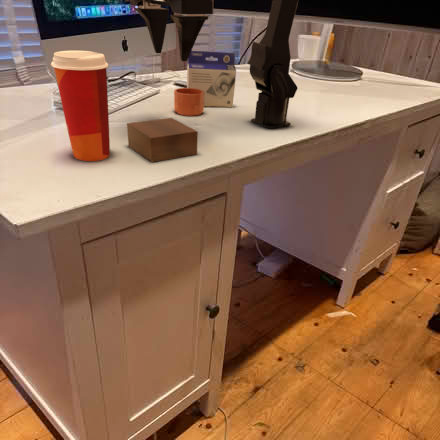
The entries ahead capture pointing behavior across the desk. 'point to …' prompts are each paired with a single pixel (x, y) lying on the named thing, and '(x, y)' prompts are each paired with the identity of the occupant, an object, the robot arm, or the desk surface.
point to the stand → (162, 139)
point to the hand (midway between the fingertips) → (170, 57)
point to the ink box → (213, 77)
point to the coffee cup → (84, 102)
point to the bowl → (188, 101)
